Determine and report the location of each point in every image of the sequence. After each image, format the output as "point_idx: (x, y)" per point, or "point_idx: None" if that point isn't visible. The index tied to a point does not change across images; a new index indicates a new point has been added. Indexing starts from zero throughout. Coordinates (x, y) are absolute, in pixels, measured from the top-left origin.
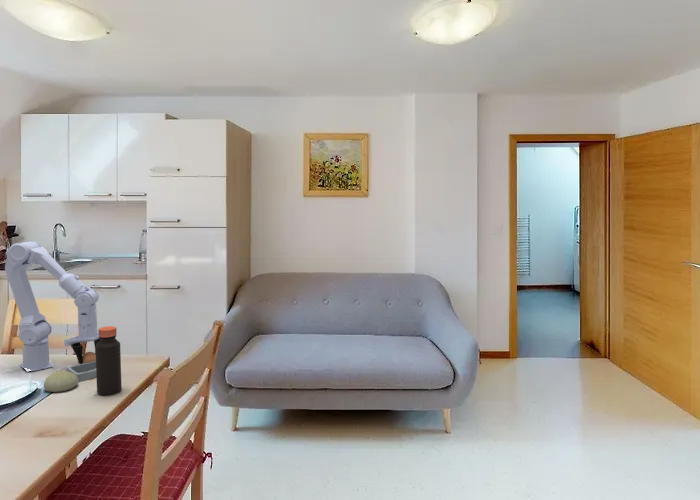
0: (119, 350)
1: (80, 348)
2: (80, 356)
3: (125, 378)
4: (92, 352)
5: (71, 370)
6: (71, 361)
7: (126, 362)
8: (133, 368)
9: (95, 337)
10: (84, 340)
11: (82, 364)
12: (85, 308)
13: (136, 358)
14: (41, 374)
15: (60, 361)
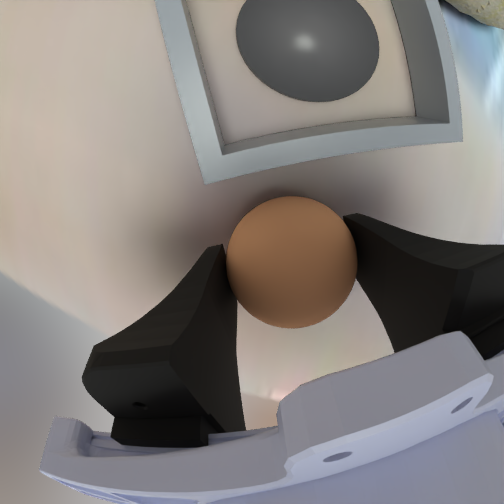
0: None
1: (464, 257)
2: (393, 233)
3: None
4: (268, 300)
5: (447, 44)
6: (343, 346)
7: (45, 190)
8: (22, 50)
9: (254, 475)
10: (491, 366)
11: (370, 131)
12: None
13: (13, 243)
14: (487, 220)
15: (376, 357)
